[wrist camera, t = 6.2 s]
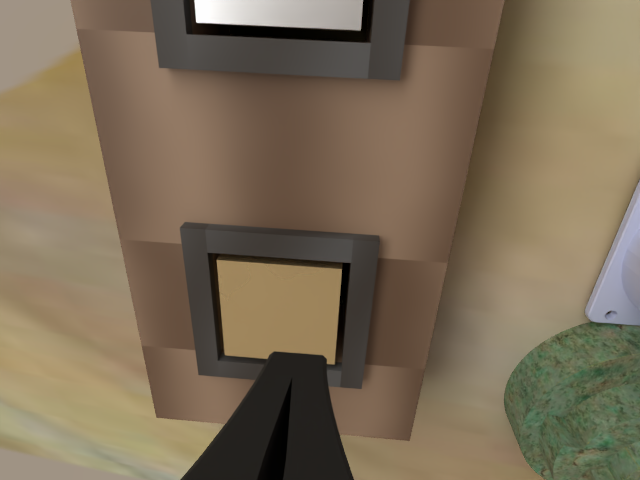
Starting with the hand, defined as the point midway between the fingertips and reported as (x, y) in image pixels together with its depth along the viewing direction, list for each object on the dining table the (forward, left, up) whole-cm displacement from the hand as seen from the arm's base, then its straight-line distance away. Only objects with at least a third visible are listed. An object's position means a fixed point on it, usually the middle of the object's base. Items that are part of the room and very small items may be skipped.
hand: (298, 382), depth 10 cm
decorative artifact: (-15, +9, -10) cm, 20 cm away
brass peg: (+1, +2, -9) cm, 10 cm away
